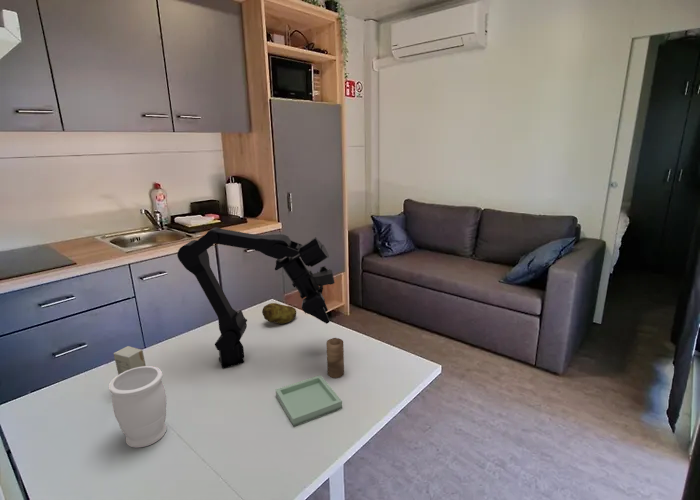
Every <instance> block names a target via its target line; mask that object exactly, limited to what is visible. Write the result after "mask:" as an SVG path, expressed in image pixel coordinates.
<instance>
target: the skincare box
mask: <svg viewBox="0 0 700 500" xmlns="http://www.w3.org/2000/svg"><path fill="white" fill-rule="evenodd" d="M113 357H114V362H115V365H116V371H117V375H119V374H121V373H123V372H125V371H127V370H130V369H133V368H136V367H142V366H147V365H146V361H145V356H144V350H143V349H140V348H137V347H134V346H130V345H127V346H125V347H123V348H121V349H119V350H118V351H115V352H113Z"/></svg>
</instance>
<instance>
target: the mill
mask: <svg viewBox="0 0 700 500" xmlns="http://www.w3.org/2000/svg"><path fill="white" fill-rule="evenodd" d="M344 352H345V350H344V340H343V339H341V338H338V337H332V338H330V339H328V340H326V363H327V364H326V365H327V366H326V368H327V369H326V370H327V371H326V372H327V376H328V377H329V378H332V379H340V378H341V377H343V376H344V375H345V359H344V358H345V355H344V354H345V353H344Z"/></svg>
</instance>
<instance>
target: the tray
mask: <svg viewBox="0 0 700 500" xmlns="http://www.w3.org/2000/svg"><path fill="white" fill-rule="evenodd" d="M275 397H276V399H277V401H278V402H279V404H280V406H281V407H282V409H283V411H284V413H285V414H286V417H287V418H288V420H289V421H290V423H291V425H292V426H293V427H296V426H298V425H301V424H304V423H306V422H310V421H312V420H315V419H317V418H320V417H323V416H326V415H328V414H331V413H334V412H336V411H338V410H341V409H343V400H342V399H341V398H340V397H339V395H337V393H336V392H335V391H334V390H333V388H332V387H331V386H330V385H329V384H328V382H327V381H326V380H325V379H324V377H323V376H322V375H321V374H320V375H317V376H313V377H310V378H307V379H304V380H301V381H298V382H294V383H292V384H288V385H286V386H282V387H279V388H276V389H275Z"/></svg>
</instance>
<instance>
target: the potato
mask: <svg viewBox="0 0 700 500" xmlns="http://www.w3.org/2000/svg"><path fill="white" fill-rule="evenodd" d="M261 310H262V312H261V313H262V315H263V318H264V320H266V321H268V322H269V323H277V324H280V325H282V324H288V323H289V322H291V321H293V320H294V319H295V317H297V309H296V308H295V307H293V306H291V305H284V304H280V303H277V302H272V303H271V302H270V303H268V304H266V305H264V306H263V308H262V309H261Z"/></svg>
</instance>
